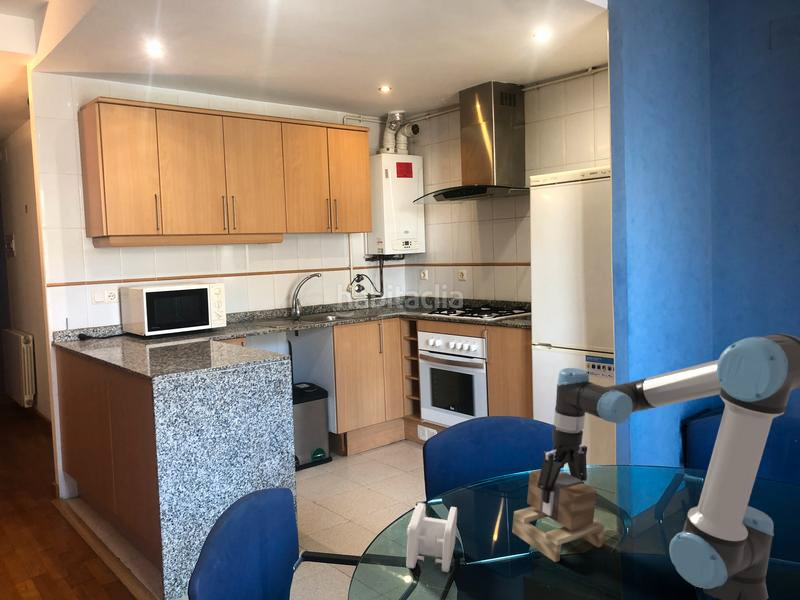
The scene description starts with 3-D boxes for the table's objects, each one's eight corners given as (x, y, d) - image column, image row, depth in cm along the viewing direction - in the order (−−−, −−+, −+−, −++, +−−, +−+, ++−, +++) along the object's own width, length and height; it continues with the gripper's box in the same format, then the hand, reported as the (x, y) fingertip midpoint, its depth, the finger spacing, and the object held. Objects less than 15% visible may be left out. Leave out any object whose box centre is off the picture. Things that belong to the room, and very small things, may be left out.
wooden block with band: (593, 523, 165) (597, 488, 164) (570, 530, 161) (574, 495, 160) (548, 497, 179) (552, 465, 177) (526, 503, 174) (529, 470, 173)
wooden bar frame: (601, 546, 169) (604, 524, 168) (555, 562, 160) (557, 539, 159) (557, 518, 182) (559, 499, 181) (512, 532, 173) (514, 511, 172)
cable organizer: (447, 580, 150) (451, 533, 148) (403, 572, 152) (406, 526, 150) (454, 547, 164) (458, 504, 162) (414, 540, 166) (417, 498, 164)
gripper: (585, 418, 175) (577, 496, 178) (527, 428, 164) (519, 512, 167) (607, 427, 169) (598, 507, 172) (548, 439, 158) (540, 525, 161)
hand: (559, 509), depth 170 cm, fingers closed on wooden block with band, 8 cm apart
